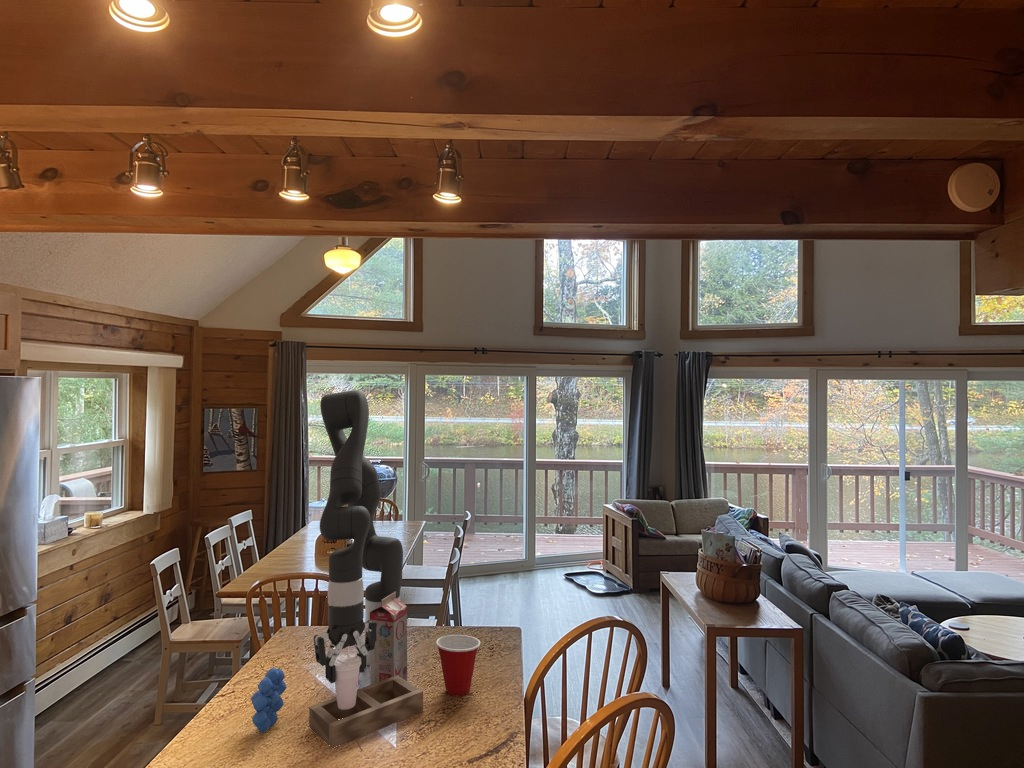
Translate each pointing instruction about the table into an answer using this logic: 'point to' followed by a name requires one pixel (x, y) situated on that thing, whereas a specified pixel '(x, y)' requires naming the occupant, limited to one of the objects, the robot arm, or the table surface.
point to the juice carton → (389, 640)
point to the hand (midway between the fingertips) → (346, 676)
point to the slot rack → (366, 711)
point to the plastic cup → (457, 662)
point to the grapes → (268, 699)
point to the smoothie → (346, 679)
